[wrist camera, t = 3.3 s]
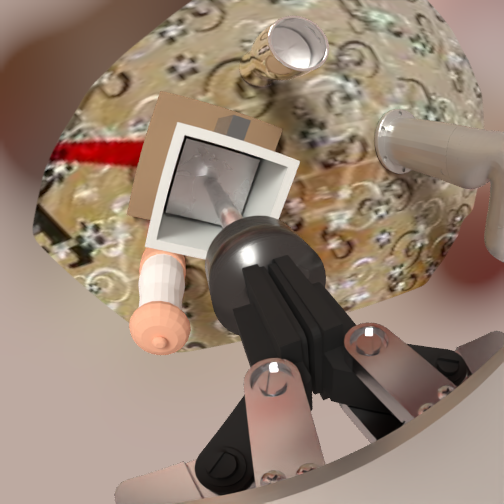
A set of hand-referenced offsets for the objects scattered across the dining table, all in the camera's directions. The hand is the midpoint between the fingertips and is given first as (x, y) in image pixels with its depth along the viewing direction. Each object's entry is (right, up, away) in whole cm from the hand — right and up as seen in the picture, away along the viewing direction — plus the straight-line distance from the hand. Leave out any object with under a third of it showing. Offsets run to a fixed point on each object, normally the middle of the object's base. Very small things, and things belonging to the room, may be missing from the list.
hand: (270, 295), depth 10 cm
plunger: (-5, +8, +18) cm, 20 cm away
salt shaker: (-15, 0, +34) cm, 37 cm away
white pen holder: (-8, +14, +29) cm, 33 cm away
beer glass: (0, +28, +24) cm, 37 cm away
